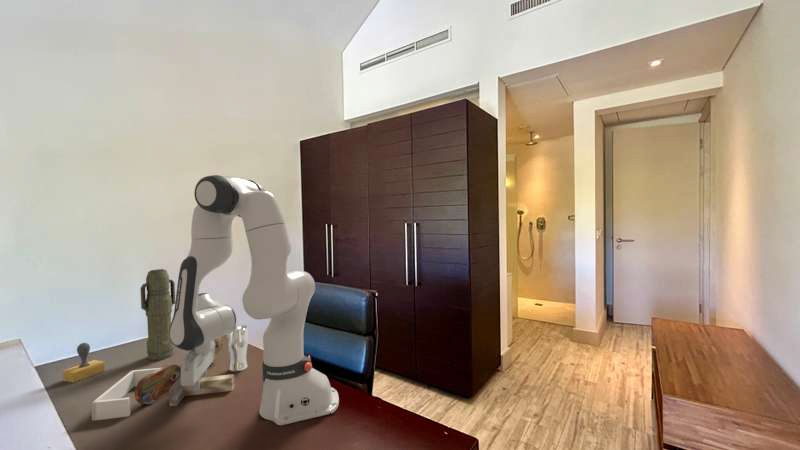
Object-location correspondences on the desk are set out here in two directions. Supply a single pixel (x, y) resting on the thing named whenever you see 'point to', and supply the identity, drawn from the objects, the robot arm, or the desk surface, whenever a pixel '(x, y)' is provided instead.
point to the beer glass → (238, 348)
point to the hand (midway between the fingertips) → (199, 386)
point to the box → (117, 397)
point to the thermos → (158, 313)
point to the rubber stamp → (83, 366)
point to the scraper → (207, 386)
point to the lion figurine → (218, 345)
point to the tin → (157, 384)
